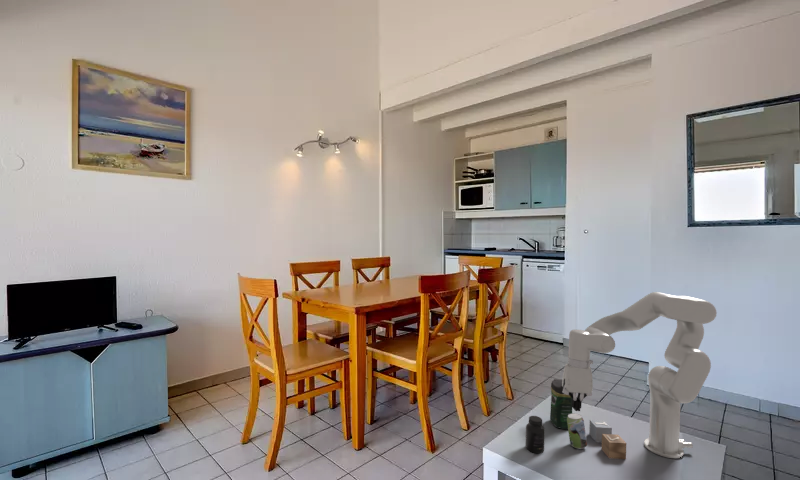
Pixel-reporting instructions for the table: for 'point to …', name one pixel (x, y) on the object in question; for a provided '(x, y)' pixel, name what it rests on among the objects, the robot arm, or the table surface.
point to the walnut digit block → (614, 446)
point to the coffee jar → (559, 405)
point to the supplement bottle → (535, 435)
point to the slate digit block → (599, 429)
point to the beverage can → (576, 431)
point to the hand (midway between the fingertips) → (576, 409)
